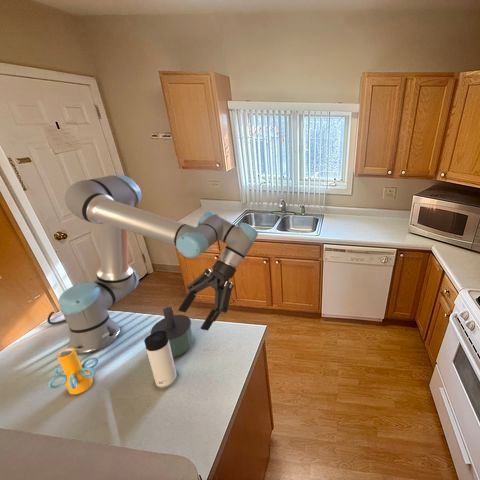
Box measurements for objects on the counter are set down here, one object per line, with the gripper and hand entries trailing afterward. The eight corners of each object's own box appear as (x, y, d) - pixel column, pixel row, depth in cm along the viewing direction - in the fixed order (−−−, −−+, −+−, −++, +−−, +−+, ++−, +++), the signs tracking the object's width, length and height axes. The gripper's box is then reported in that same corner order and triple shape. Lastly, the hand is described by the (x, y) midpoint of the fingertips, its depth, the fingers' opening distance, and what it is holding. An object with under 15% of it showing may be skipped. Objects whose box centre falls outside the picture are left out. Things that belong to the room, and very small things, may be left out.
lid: (147, 327, 97) (141, 308, 93) (184, 312, 106) (180, 294, 102) (156, 348, 88) (151, 327, 85) (196, 330, 97) (193, 310, 93)
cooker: (153, 345, 100) (148, 326, 97) (186, 330, 109) (183, 312, 105) (162, 364, 92) (157, 345, 89) (197, 347, 101) (194, 328, 97)
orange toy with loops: (112, 372, 89) (99, 340, 83) (88, 401, 79) (72, 367, 73) (75, 372, 88) (60, 339, 82) (46, 401, 78) (27, 366, 72)
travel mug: (163, 392, 83) (151, 346, 75) (152, 382, 86) (139, 337, 78) (181, 378, 88) (171, 333, 80) (170, 369, 91) (159, 325, 83)
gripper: (257, 279, 86) (223, 339, 80) (214, 257, 99) (182, 306, 93) (244, 272, 80) (205, 336, 74) (199, 249, 92) (164, 301, 87)
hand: (192, 320), depth 84 cm, fingers open, 13 cm apart
